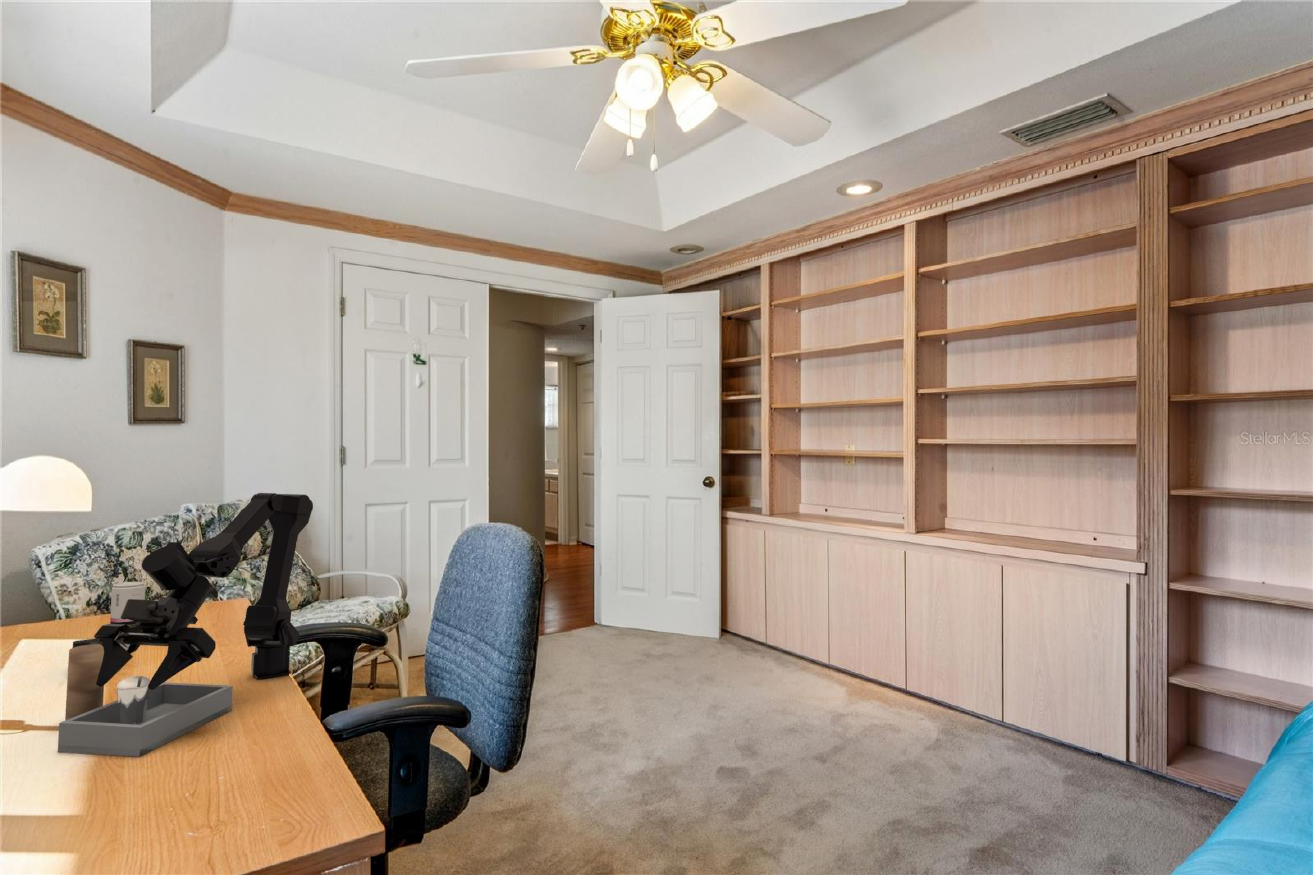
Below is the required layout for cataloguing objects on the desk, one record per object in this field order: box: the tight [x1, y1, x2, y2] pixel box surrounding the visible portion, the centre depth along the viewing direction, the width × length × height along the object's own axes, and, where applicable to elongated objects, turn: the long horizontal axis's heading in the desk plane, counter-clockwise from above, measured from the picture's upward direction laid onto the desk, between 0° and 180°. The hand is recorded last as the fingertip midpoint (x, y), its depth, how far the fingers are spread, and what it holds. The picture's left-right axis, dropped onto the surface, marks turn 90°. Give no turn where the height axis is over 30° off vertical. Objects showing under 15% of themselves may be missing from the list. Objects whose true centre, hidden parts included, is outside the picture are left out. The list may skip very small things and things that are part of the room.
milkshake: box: [116, 675, 151, 725], centre depth 111 cm, size 4×5×10 cm
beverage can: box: [109, 581, 146, 633], centre depth 167 cm, size 7×6×15 cm
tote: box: [57, 681, 234, 758], centre depth 115 cm, size 20×14×4 cm
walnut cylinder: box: [64, 644, 105, 721], centre depth 117 cm, size 5×5×13 cm
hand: (124, 687), depth 109 cm, fingers open, 9 cm apart
